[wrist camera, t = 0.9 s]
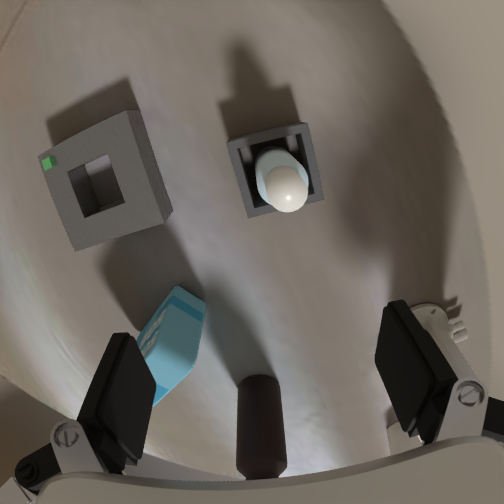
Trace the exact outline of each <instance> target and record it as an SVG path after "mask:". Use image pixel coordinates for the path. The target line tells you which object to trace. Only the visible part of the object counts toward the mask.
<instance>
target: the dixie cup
mask: <svg viewBox="0 0 504 504" xmlns="http://www.w3.org/2000/svg"><path fill="white" fill-rule="evenodd" d="M387 435H388V441H389V447H390V453H391V456H392V455H395V454H398V453H402V452H405V451H408V450H411V449H414V448H417V447H420V446H421V444H422V443H421V442H420V440H419V438H418V436H414V437H411V438H409V435H408V433H407V432H404V431H403V430H402V428H401V425H400V423H399V422H396V423H394V424H393V425H391V426H390V427H389V428H388V429H387Z"/></svg>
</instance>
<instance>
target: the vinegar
mask: <svg viewBox="0 0 504 504" xmlns="http://www.w3.org/2000/svg"><path fill="white" fill-rule="evenodd" d="M236 467H237V470H238V471H239V472H240V473H241V474H242V475H243V476H245V477H246V480H260V479H272V478H279V475H280V474H281V473H282V472H283V471H284V470H285V469H286V468H287V454H286V444H285V433H284V423H283V412H282V402H281V392H280V386H279V384H278V382H277V381H276V380H275V379H273V378H271V377H268V376H262V375H260V376H252V377H248V378H246V379H244V380H243V381H242V382H241V383H240V385H239V387H238V406H237V448H236Z"/></svg>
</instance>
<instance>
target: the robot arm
mask: <svg viewBox="0 0 504 504" xmlns="http://www.w3.org/2000/svg"><path fill="white" fill-rule="evenodd" d="M454 332H455V333H454ZM467 338H468V331H467V330H466V329H465V328H464V322H463V321H459V322H457V323H455V324H453V325H451V324H448V318H447V315H446V313H445V312H444V311H443V309H442V308H441V307H439V306H438V305H435V304H429V303H426V304H420V305H417V306H414V307H411V308H409V306H408V305H407V304H406V302H405V301H404V300H397V301H392V302H389V303H388V304H387V306H386V307H384V309H383V314H382V320H381V326H380V332H379V337H378V343H377V348H376V353H375V364H376V367H377V369H378V371H379V374H380V376H381V378H382V381H383V383H384V386H385V388H386V390H387V393H388V395H389V398H390V400H391V403H392V405H393V408H394V410H395V413H396V415H397V418H398V420H399V423H400V425H401V428H402V430H403V431H404V432H407V433H408V435H409V438H411V437H414V436H417V435H420V438H421V440H423V441H422V444H421V446H420V447H417V448H414V449H411V450H408V451H405V452H402V453H398V454H395V455H392V456H388V457H384V458H381V459H377V460H373V461H369V462H366V463H362V464H357V465H353V466H349V467H344V468H339V469H334V470H329V471H324V472H318V473H312V474H305V475H298V476H290V477H282V478H272V479H260V480H244V481H181V480H165V479H155V478H143V477H135V476H127V475H126V473H125V471H124V468H125V464H127V465H134V466H137V461H138V459H141V457H142V454H143V449H144V444H145V439H146V434H147V429H148V424H149V420H150V415H151V411H152V406H153V402H154V397H155V393H156V381H155V379H154V377H153V375H152V373H151V371H150V369H149V367H148V365H147V363H146V361H145V359H144V357H143V355H142V353H141V351H140V349H139V347H138V344H137V342H136V340H135V338H134V337H133V336H130V334H129V333H127V332H125V333H114V334H113V335H112V337H111V339H110V341H109V343H108V345H107V348H106V350H105V352H104V354H103V357H102V359H101V361H100V363H99V366H98V368H97V370H96V372H95V375H94V377H93V380H92V382H91V384H90V387H89V389H88V392H87V394H86V397H85V399H84V402H83V404H82V407H81V409H80V412H79V415H78V417H77V420H73V419H65V420H63V421H60V422H59V423H57V424H56V425H55V427H54V428H53V430H52V432H51V436H50V439H51V443H49V444H47V445H46V446H44V447H42V448H40V449H39V450H37V451H35V452H33V453H32V454H30V455H28V456H26V457H25V458H23V459H22V460H20V461H19V463H18V464H17V466H16V468H15V478H12V477H11V478H10V479H9V480H8V481H7V482H6V483H5V484H4V485H3V486H2V487H1V488H0V504H504V401H501V400H498V399H495V398H492V397H490V396H489V394H488V390H487V387H486V386H485V385H484V383H483V382H481V381H480V380H479V379H478V377H477V375H476V374H475V372H474V371H473V369H472V368H471V366H470V365H469V363H468V362H467V360H466V358H465V357H464V356H463V354H462V353H461V351H460V350H459V348H458V347H457V345H456V344H455V343H457V342H461V341H463V340H465V339H467Z"/></svg>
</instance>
